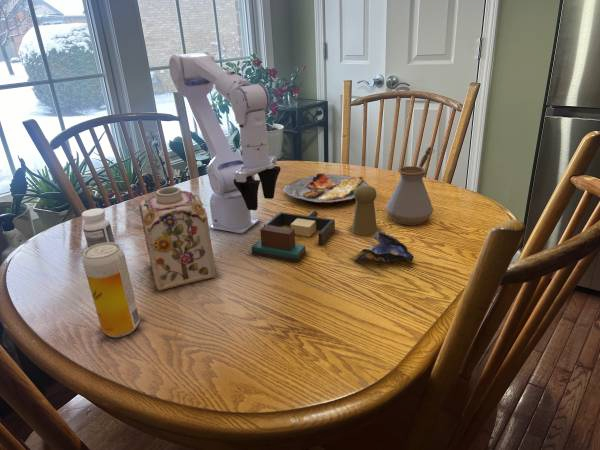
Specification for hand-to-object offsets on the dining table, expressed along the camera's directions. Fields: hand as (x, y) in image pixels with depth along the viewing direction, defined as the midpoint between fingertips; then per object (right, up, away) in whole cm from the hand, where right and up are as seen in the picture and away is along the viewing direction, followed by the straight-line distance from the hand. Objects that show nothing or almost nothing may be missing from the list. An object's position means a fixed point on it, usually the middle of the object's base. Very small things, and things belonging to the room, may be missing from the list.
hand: (261, 203), depth 98 cm
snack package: (+27, -12, -6) cm, 30 cm away
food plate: (+17, +4, +31) cm, 36 cm away
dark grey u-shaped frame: (+10, -6, +9) cm, 15 cm away
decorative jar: (-16, -15, -8) cm, 23 cm away
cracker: (+10, -7, +7) cm, 14 cm away
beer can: (-22, -23, -24) cm, 39 cm away
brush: (+4, -11, -2) cm, 12 cm away
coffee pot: (+39, -2, +16) cm, 42 cm away
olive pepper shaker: (+24, -6, +7) cm, 26 cm away
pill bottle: (-37, -11, +3) cm, 38 cm away
